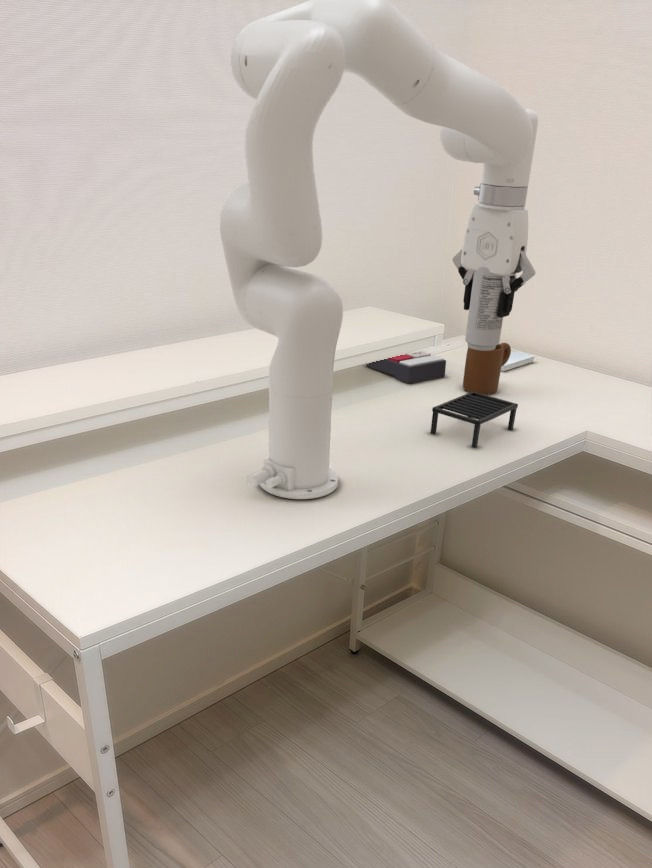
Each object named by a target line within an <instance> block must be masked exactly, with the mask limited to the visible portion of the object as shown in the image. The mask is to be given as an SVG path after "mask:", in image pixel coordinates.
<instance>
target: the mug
mask: <svg viewBox="0 0 652 868" xmlns="http://www.w3.org/2000/svg"><path fill="white" fill-rule="evenodd" d="M511 350H512V348H511V345H510V344H509V343H507V342H501V343H499V344H498V345H496V347H495V349H494V350H489V351H482V350H475V349H472V348H469V347H468V346H467V350H466V356H465V363H464V371H463V379H462V388H463V390H465V391H466V392H467V393H470V392H472V391H474V392H477V393H481V394H484V395H492V394H494V393H496V392H497V390H498V388H499V383H500V377H501V372H502V371H501V366H503V365H505V364H506V362H507V361H508V359H509V357H510V354H511Z"/></svg>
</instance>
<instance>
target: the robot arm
mask: <svg viewBox="0 0 652 868" xmlns="http://www.w3.org/2000/svg"><path fill="white" fill-rule="evenodd" d="M230 66H231V72H232V75H233V78H234V80H235V82H236V84H237V85H238V87H239V88H240V90H241V91H242V92H243V93H245V94H246V95H247V96H248V97H250V98H252V99H254V100H255V102H254V104H253V107H252V109H251V111H250V114H249V117H248V120H247V124H246V129H245V134H244V156H245V157H244V158H245V164H246V165H245V166H246V169H247V170H246V172H247V178H248V182H243V183H240V184H238V185H237V186H234V187H233V189H231V190H230V191H229V193H228V194H227V196H226V198H225V199H224V201H223V204H222V207H221V211H220V215H219V216H220V218H219V232H220V238H221V244H222V249H223V253H224V259H225V263H226V267H227V272H228V273H227V274H228V276H229V277H228V278H229V281H230V286H231V290H232V294H233V298H234V299H233V300H234V302H235V305H236V308H237V310H238V312H239V314H240V316H241V317H242V319H243V320H244V321H245V322H246V323H247V324H248V325H250V326H251V327H253V328H255V329H257V330H259V331H262V332H264V333H266V334H270V335H272V336H274V337H275V338H277V339H278V341H277V345H276V348H275V350H274V353H273V355H272V358H271V360H270V364H269V369H268V458H265V459H264V467H261V470H260V471H257V472H254V473H250V474H249V475H247V477H246V480H247V484H248V485H249V486H250V487H251V488H255V487H257V486H260V488H262V490H264V491H266V492H267V493H268V494H271V495H273V496H276V497H279V498H284V499H288V500H289V499H290V500H311V499H317V498H322V497H325V496H327V495H330V494H331V493H333V492H334V491H335V490H336V489H337V488H338V485H339V476H338V474H337V473H336V472H335V471H334V470H333V469H331V468H330V455H331V453H330V451H331V431H332V409H333V408H332V407H333V406H332V405H333V381H334V366H335V356H336V350H337V346H338V345H337V344H338V339H339V336H340V332H341V328H342V323H343V317H344V307H343V306H344V305H343V302H342V298H341V296H340V294H339V292H338V291H337V289H336V288H335V287H334V285H332V284H331V283H330V282H329V281H327V280H326V279H324V278H322V277H321V276H319V275H316V274H313V273H309V272H306V271H302V270H299V269H297V268H301V267H305V266H307V265H310V264H311V263H312V262H314V261H315V260H316V259H317V257H318V255H319V254H320V252H321V249H322V245H323V227H322V219H321V211H320V204H319V197H318V190H317V182H316V174H315V169H314V168H315V167H314V153H313V152H314V151H313V150H314V149H313V146H314V144H313V142H314V137H315V132H316V128H317V125H318V123H319V120H320V118H321V116H322V114H323V112H324V110H325V108H326V107H327V105H328V103H329V102H330V100H331V99H332V97H333V96H334V95H335V93H336V92H337V90H338V88H339V86H340V84H341V82H342V79H343V76H344V73H346V74H347V73H349V74H354V75H356V76H358V77H359V78H361V79H362V80H363V81H364V82H365V83H367V84H368V85H369V86H371V87H372V88H373V89H374V90H376V91H377V93H379V94H380V95H382V96H383V97H384V98H385V99H387V100H388V101H389V102H390V103H391V104H392V105H394V106H395V107H396V108H397V109H398V110H400V111H401V113H403V114H405V115H407V116H409V117H410V118H413V119H416V120H418V121H421V122H423V123H427V124H430V125H435V126H439V127H440V131H439V139H440V144H441V146H442V149H443V150H444V152H445V153H446V154H447V155H448V156H450V157H451V158H452V159H455V160H457V161H461V162H467V163H475V164H483V165H482V171H481V172H482V173H481V180H480V183H479V185H476V186H474V188H473V195H474V196H477V198H478V199H477V201H478V203H474V204H473V206H472V207H471V211H470V215H469V217H468V221H467V225H466V228H465V235H464V238H463V244H462V248H461V250H459V251H458V253H456V254H455V255H454V256H453V257H452V263H453V264H454V266H455V267H456V269H457V272H458V274H459V276H460V277H461V279H462V284H463V285H464V292H463V293H464V294H463V300H462V301H463V310H464V311H469V307H470V299H471V291H472V284H473V276H474V271H477V270H478V268H480V267H486V268H488V269H489V272H490V273H492V274H494V275H499V276H502V282H503V288H504V292H503V293H501V294H500V299H499V306H498V313H497V316H498V317H499V318H502V317H503V318H506V317H508V316H510V314H511V312H512V310H513V306H514V305H513V304H514V299H515V293H516V292H518V291H519V289H520V288H522V286H524V285H526V283H527V282H528V281H530V280H531V279H532V278H533V277H534V276H535V275H536V270H535V268H534V267H533V265H532V263H531V261H530V260H529V258H528V256H527V251H528V240H529V239H528V238H529V209H528V208H526V204H527V203H526V202H527V196H528V190H529V183H530V179H531V178H530V177H531V170H532V164H533V158H534V152H535V145H536V139H537V133H538V126H539V116H538V113H537V112H536V111H535V110H533V109H530V108H525V107H524V106H523V104H522V103H521V101H519V100H518V99H517V98H516V97H515V96H514V95H513V93H511V92H510V91H509V90H508V89H507V88H505V87H504V86H503V85H502V84H500V83H498V82H497V81H495V80H494V79H492V78H490V77H488V76H487V75H485V74H483V73H481V72H479V71H477V70H476V69H473V68H472V67H470V66H468V65H466V63H463V62H461V61H459V60H457V59H455V58H453V57H451V56H449V55H448V54H445V53H444V52H443V51H442V50H440V49H439V48H438V47H437V46H436V45H435V44H434V43H433V42H432V41H431V40H430V39H428V37H426V36H425V34H423V32H421V31H420V29H418V28H417V27H416V25H414V23H412V22H411V21H410V19H408V18H407V17H406V16H405V15H404V14H403V13H402V12H401V10H399V9H398V8H397V7H396V5H394V4H393V3H392V2H391V1H390V0H307V1H305V2H302V3H299V4H297V5H294V6H292V7H288V8H286V9H284V10H281V11H278V12H275V13H273V14H270V15H267V16H264V17H261V18H259V19H256V20H253V21H252V22H250V23H248V24H247V25H245V26H244V27H242V28H241V30H240V31H239V32H238V34H237V36H236V38H235V39H234V42H233V45H232V48H231V54H230ZM295 268H296V269H295ZM519 273H521V274H520V275H519V276H518V277H517V274H519Z"/></svg>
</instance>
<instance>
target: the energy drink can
mask: <svg viewBox="0 0 652 868" xmlns="http://www.w3.org/2000/svg"><path fill="white" fill-rule="evenodd" d="M503 292H504V288H503V282H502V276H499V275H494V274H492V273H490V272H489V269H488V268H486V267H480V268H478V270H477V271H474V276H473V284H472V291H471V299H470V307H469V310H468V313H467V314H468V316H467V323H466V331H465V332H466V333H465V339H464V341H465V342H466V343H467V348H468V347H469V348H472V349H475V350H482V351H489V350H494V349H495V347H496V345H498V344H500V340H501V336H502V335H501V334H502V329H503V328H502V327H503V322H504V317H502V318H499V317H498V316H497V313H498V306H499V299H500V294H501V293H503Z"/></svg>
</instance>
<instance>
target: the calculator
mask: <svg viewBox="0 0 652 868" xmlns="http://www.w3.org/2000/svg"><path fill="white" fill-rule="evenodd" d="M446 366H447V360H446V359H444V358H442V357H441V356H436V355H432V353H429V352H426V351H423V350H420V351H419V352H415V353H412V354H405V355H400V356H396V357H392V358H388V359H384V360H380V361H376V362H372V363H369V364H367V363H366V367H367V368H370V369H372V370H376V371H378V372H382V373H386V374H387V375H391V376H394V377H395V378H396V380H398V381H401V382H403V383H407V384H414V383H418V382H424V381H428V380H433V379H438V378H443V377H445V376H446V369H447V368H446Z"/></svg>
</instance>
